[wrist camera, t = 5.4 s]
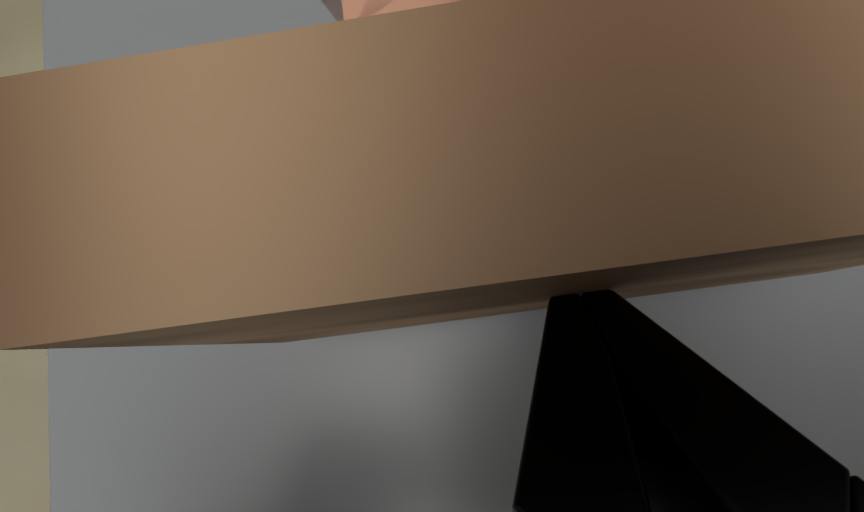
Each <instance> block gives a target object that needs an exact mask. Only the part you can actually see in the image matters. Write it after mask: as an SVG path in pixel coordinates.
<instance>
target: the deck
mask: <svg viewBox="0 0 864 512" xmlns="http://www.w3.org/2000/svg"><path fill="white" fill-rule="evenodd" d="M456 1H460V0H43V42H44V70H48V69H54V68H60V67H66V66H72V65H78V64H84V63H90V62H96V61H102V60H108V59H114V58H120V57H126V56H132V55H138V54H144V53H150V52H156V51H162V50H168V49H174V48H180V47H186V46H192V45H198V44H204V43H210V42H216V41H222V40H228V39H234V38H240V37H246V36H252V35H258V34H264V33H270V32H276V31H282V30H288V29H294V28H300V27H306V26H312V25H318V24H324V23H330V22H336V21H342V20H348V19H354V18H360V17H366V16H372V15H378V14H384V13H390V12H396V11H402V10H408V9H414V8H420V7H426V6H432V5H438V4H444V3H450V2H456ZM624 299H625V300H627V301H628V302H629V303H631V304H632V305H633V306H635V307H636V308H637V309H639V310H640V311H641V312H643V313H644V314H645V315H646V316H648V317H649V318H650V319H652V320H653V321H654V322H656V323H657V324H658V325H660V326H661V327H662V328H664V329H665V330H666V331H668V332H669V333H670V334H671V335H673V336H674V337H675V338H677V339H678V340H679V341H681V342H682V343H683V344H685V345H686V346H687V347H689V348H690V349H691V350H693V351H694V352H695V353H696V354H698V355H699V356H700V357H702V358H703V359H704V360H706V361H707V362H708V363H710V364H711V365H712V366H714V367H715V368H716V369H718V370H719V371H720V372H721V373H723V374H724V375H725V376H727V377H728V378H729V379H731V380H732V381H733V382H735V383H736V384H737V385H739V386H740V387H741V388H743V389H744V390H745V391H746V392H748V393H749V394H750V395H752V396H753V397H754V398H756V399H757V400H758V401H760V402H761V403H762V404H764V405H765V406H766V407H768V408H769V409H770V410H772V411H773V412H774V413H775V414H777V415H778V416H779V417H781V418H782V419H783V420H785V421H786V422H787V423H789V424H790V425H791V426H793V427H794V428H795V429H797V430H798V431H799V432H800V433H802V434H803V435H804V436H806V437H807V438H808V439H810V440H811V441H812V442H814V443H815V444H816V445H818V446H819V447H820V448H822V449H823V450H824V451H825V452H827V453H828V454H829V455H831V456H832V457H833V458H835V459H836V460H837V461H839V462H840V463H841V464H843V465H844V466H845V467H847V468H848V469H849V471H850V477H851V476H853V475H856V476H859V477H860V478H861V479H863V480H864V265H861V266H855V267H850V268H845V269H839V270H834V271H829V272H824V273H817V274H809V275H801V276H794V277H786V278H778V279H771V280H763V281H755V282H747V283H740V284H732V285H724V286H717V287H709V288H701V289H694V290H686V291H678V292H670V293H663V294H655V295H647V296H640V297H632V298H624ZM546 313H547V309H539V310H532V311H524V312H516V313H509V314H501V315H493V316H486V317H478V318H470V319H462V320H455V321H447V322H439V323H432V324H424V325H416V326H408V327H401V328H393V329H385V330H378V331H370V332H362V333H355V334H347V335H339V336H331V337H324V338H316V339H308V340H301V341H293V342H285V343H252V344H213V345H173V346H134V347H95V348H56V349H48V382H49V450H50V512H512V504H513V498H514V492H515V487H516V481H517V476H518V470H519V464H520V459H521V453H522V448H523V442H524V436H525V431H526V425H527V420H528V414H529V408H530V403H531V397H532V392H533V386H534V380H535V375H536V369H537V364H538V358H539V352H540V347H541V341H542V335H543V330H544V324H545V319H546Z"/></svg>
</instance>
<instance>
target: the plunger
mask: <svg viewBox="0 0 864 512" xmlns="http://www.w3.org/2000/svg"><path fill="white" fill-rule="evenodd" d="M861 265H864V0H460V1H456V2H450V3H444V4H438V5H432V6H426V7H420V8H414V9H408V10H402V11H396V12H390V13H384V14H378V15H372V16H366V17H360V18H354V19H348V20H342V21H336V22H330V23H324V24H318V25H312V26H306V27H300V28H294V29H288V30H282V31H276V32H270V33H264V34H258V35H252V36H246V37H240V38H234V39H228V40H222V41H216V42H210V43H204V44H198V45H192V46H186V47H180V48H174V49H168V50H162V51H156V52H150V53H144V54H138V55H132V56H126V57H120V58H114V59H108V60H102V61H96V62H90V63H84V64H78V65H72V66H66V67H60V68H54V69H48V70H42V71H36V72H31V73H25V74H19V75H13V76H7V77H1V78H0V350H17V349H56V348H95V347H134V346H173V345H213V344H252V343H285V342H293V341H301V340H308V339H316V338H324V337H331V336H339V335H347V334H355V333H362V332H370V331H378V330H385V329H393V328H401V327H408V326H416V325H424V324H432V323H439V322H447V321H455V320H462V319H470V318H478V317H486V316H493V315H501V314H509V313H516V312H524V311H532V310H539V309H547V307H548V302H549V299H550V298H551V297H553V296H561V295H568V294H578V295H580V296H581V295H582V294H583V293H584V292H591V291H599V290H606V289H610V290H613V291H615V292H616V293H617V294H619V295H620V296H621V297H623V298H632V297H640V296H647V295H655V294H663V293H670V292H678V291H686V290H694V289H701V288H709V287H717V286H724V285H732V284H740V283H747V282H755V281H763V280H771V279H778V278H786V277H794V276H801V275H809V274H817V273H824V272H829V271H834V270H839V269H845V268H850V267H855V266H861Z"/></svg>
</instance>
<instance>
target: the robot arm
mask: <svg viewBox="0 0 864 512" xmlns="http://www.w3.org/2000/svg"><path fill="white" fill-rule="evenodd" d="M512 512H864V480H863V479H861V478H860V477H859V476H856V475H853V476H851V477H850V471H849V469H848V468H847V467H845V466H844V465H843V464H841V463H840V462H839V461H837V460H836V459H835V458H833V457H832V456H831V455H829V454H828V453H827V452H825V451H824V450H823V449H822V448H820V447H819V446H818V445H816V444H815V443H814V442H812V441H811V440H810V439H808V438H807V437H806V436H804V435H803V434H802V433H800V432H799V431H798V430H797V429H795V428H794V427H793V426H791V425H790V424H789V423H787V422H786V421H785V420H783V419H782V418H781V417H779V416H778V415H777V414H775V413H774V412H773V411H772V410H770V409H769V408H768V407H766V406H765V405H764V404H762V403H761V402H760V401H758V400H757V399H756V398H754V397H753V396H752V395H750V394H749V393H748V392H746V391H745V390H744V389H743V388H741V387H740V386H739V385H737V384H736V383H735V382H733V381H732V380H731V379H729V378H728V377H727V376H725V375H724V374H723V373H721V372H720V371H719V370H718V369H716V368H715V367H714V366H712V365H711V364H710V363H708V362H707V361H706V360H704V359H703V358H702V357H700V356H699V355H698V354H696V353H695V352H694V351H693V350H691V349H690V348H689V347H687V346H686V345H685V344H683V343H682V342H681V341H679V340H678V339H677V338H675V337H674V336H673V335H671V334H670V333H669V332H668V331H666V330H665V329H664V328H662V327H661V326H660V325H658V324H657V323H656V322H654V321H653V320H652V319H650V318H649V317H648V316H646V315H645V314H644V313H643V312H641V311H640V310H639V309H637V308H636V307H635V306H633V305H632V304H631V303H629V302H628V301H627V300H625V299H624V298H623V297H621V296H620V295H619V294H617V293H616V292H615V291H613V290H610V289H606V290H599V291H591V292H584V293H583V294H582V295H581V296H580V295H578V294H568V295H561V296H553V297H551V298H550V299H549V302H548V307H547V313H546V319H545V324H544V330H543V335H542V341H541V347H540V352H539V358H538V364H537V369H536V375H535V380H534V386H533V392H532V397H531V403H530V408H529V414H528V420H527V425H526V431H525V436H524V442H523V448H522V453H521V459H520V464H519V470H518V476H517V481H516V487H515V492H514V498H513V504H512Z"/></svg>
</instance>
